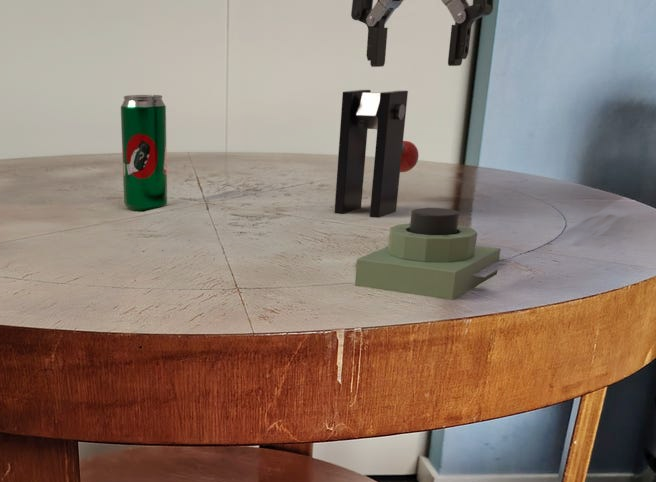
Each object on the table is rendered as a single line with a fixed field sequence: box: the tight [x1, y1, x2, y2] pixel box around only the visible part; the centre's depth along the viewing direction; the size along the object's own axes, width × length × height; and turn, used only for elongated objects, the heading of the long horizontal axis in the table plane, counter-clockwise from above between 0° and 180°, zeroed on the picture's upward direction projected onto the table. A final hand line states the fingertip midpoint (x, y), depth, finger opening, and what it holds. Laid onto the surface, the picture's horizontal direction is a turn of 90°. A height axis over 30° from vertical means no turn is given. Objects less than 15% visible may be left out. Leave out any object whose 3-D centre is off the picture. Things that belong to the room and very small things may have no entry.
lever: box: [356, 91, 420, 173], centre depth 94 cm, size 13×3×3 cm
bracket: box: [334, 89, 409, 219], centre depth 92 cm, size 9×11×13 cm
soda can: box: [120, 94, 168, 212], centre depth 103 cm, size 5×5×12 cm
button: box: [409, 207, 460, 235], centre depth 70 cm, size 4×4×2 cm
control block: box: [354, 222, 501, 301], centre depth 72 cm, size 8×10×4 cm
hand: (414, 66), depth 94 cm, fingers open, 8 cm apart
